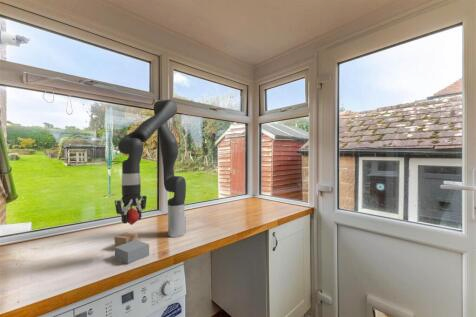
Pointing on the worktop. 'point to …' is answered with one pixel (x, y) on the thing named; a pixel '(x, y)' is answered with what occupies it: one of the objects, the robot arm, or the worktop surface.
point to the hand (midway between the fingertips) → (131, 221)
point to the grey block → (131, 251)
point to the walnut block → (125, 238)
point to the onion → (132, 216)
